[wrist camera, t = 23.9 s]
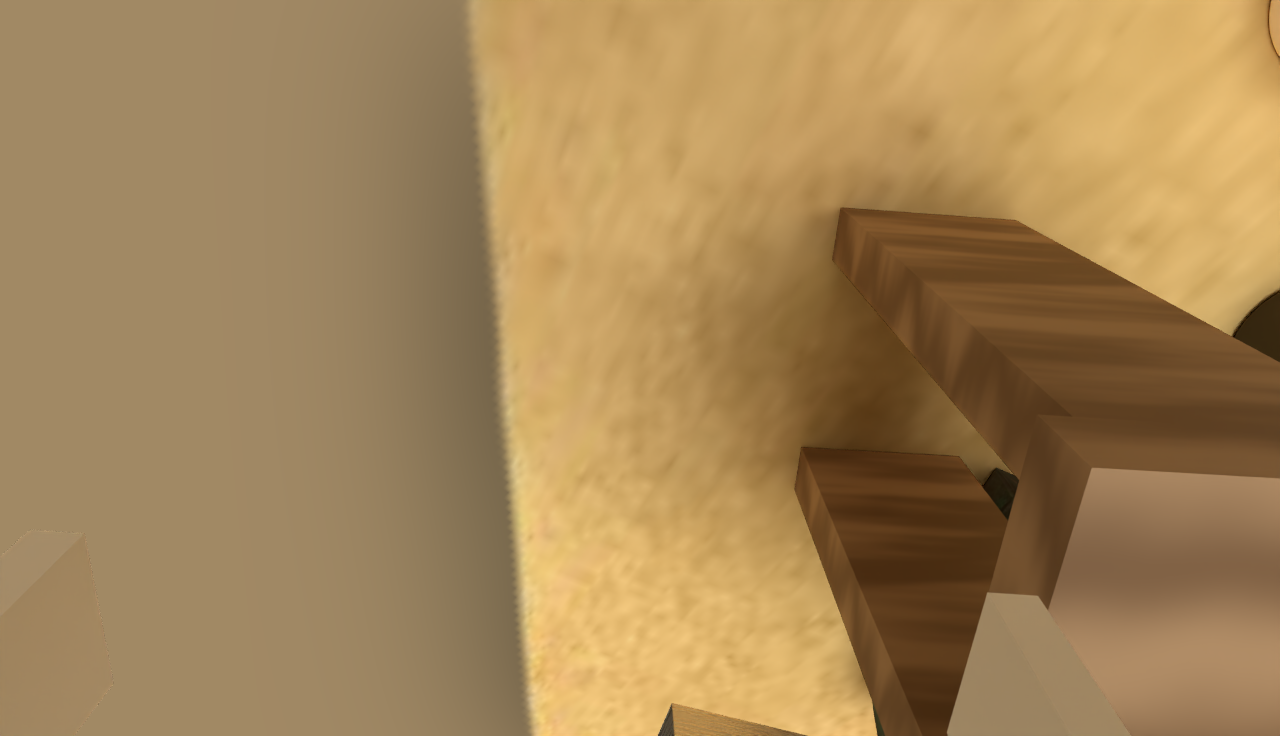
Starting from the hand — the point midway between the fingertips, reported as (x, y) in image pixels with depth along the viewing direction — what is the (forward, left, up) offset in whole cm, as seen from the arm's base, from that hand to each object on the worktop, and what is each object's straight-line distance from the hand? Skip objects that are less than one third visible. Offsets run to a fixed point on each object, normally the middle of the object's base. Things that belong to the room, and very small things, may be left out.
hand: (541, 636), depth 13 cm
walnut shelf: (+13, +17, -38) cm, 43 cm away
